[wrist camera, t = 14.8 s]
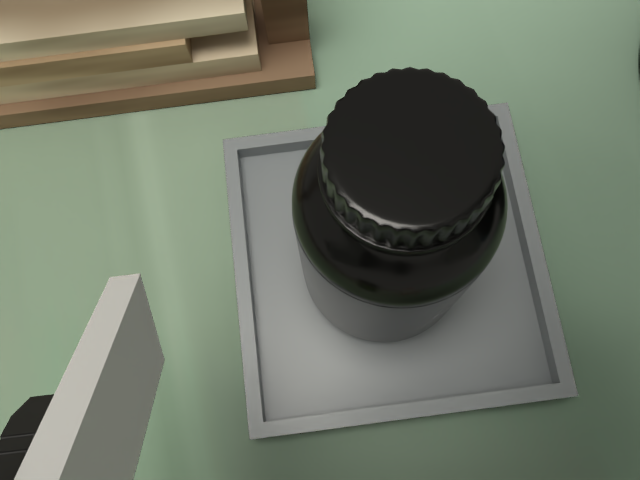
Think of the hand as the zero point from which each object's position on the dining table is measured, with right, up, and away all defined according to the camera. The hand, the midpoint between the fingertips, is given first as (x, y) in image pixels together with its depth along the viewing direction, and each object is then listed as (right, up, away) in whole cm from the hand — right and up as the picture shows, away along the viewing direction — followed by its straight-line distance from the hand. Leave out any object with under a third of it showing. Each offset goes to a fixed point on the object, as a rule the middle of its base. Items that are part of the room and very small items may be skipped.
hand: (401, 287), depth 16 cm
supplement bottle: (+1, 0, +11) cm, 11 cm away
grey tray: (+1, 0, +12) cm, 12 cm away
